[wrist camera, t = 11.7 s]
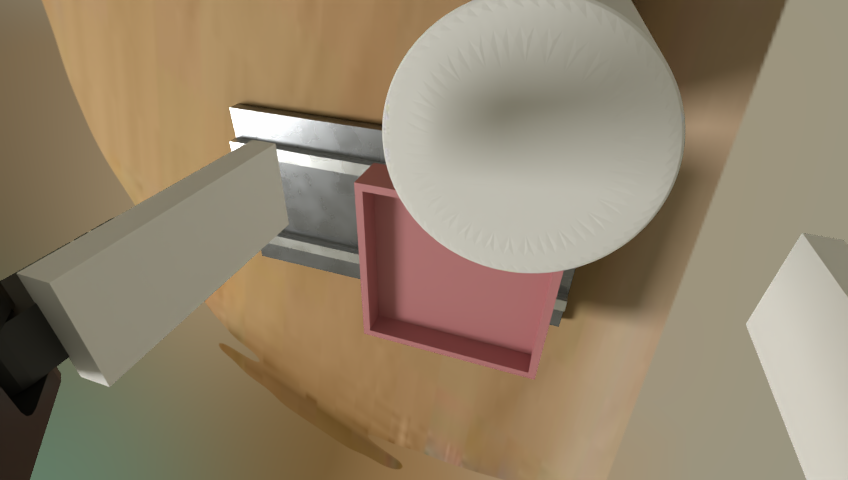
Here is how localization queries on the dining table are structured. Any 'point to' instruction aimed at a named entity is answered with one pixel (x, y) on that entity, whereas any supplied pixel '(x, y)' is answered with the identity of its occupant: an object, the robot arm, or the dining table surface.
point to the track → (324, 186)
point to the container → (534, 131)
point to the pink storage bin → (444, 289)
